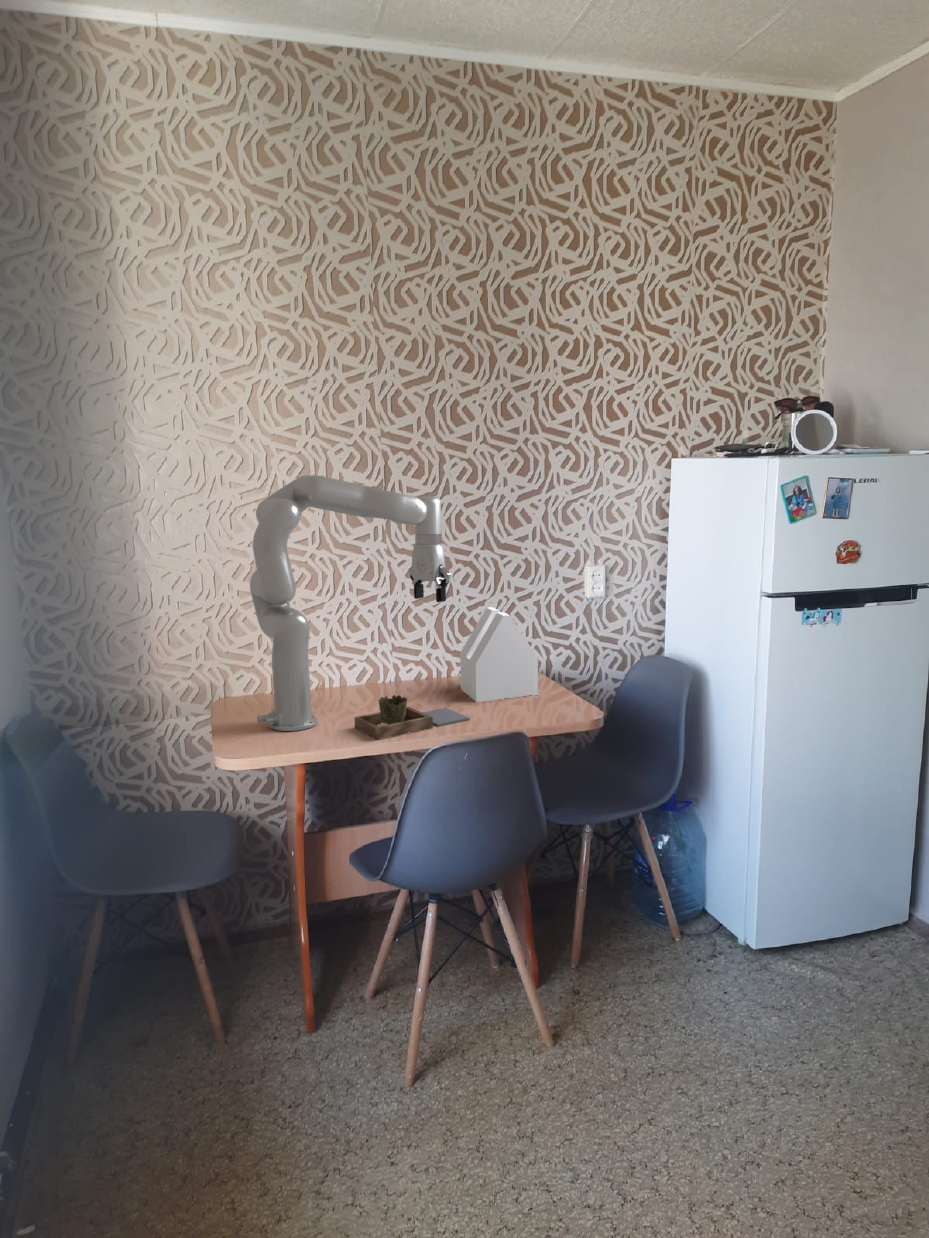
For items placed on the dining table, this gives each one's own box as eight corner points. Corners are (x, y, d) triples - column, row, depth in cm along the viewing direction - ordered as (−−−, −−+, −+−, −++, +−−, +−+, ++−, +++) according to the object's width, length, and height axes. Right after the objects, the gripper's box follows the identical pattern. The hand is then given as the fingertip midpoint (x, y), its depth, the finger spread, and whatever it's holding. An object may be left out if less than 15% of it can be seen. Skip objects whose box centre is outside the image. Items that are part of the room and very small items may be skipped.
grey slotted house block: (476, 702, 245) (475, 617, 241) (460, 689, 259) (459, 609, 255) (537, 696, 251) (537, 613, 246) (519, 683, 265) (518, 605, 261)
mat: (438, 726, 222) (438, 724, 222) (414, 716, 232) (414, 714, 232) (469, 719, 228) (469, 717, 228) (445, 709, 237) (445, 707, 237)
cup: (382, 733, 217) (381, 703, 216) (377, 725, 224) (376, 696, 223) (410, 730, 219) (409, 700, 218) (404, 722, 226) (403, 693, 225)
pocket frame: (377, 740, 212) (376, 728, 211) (355, 728, 222) (354, 717, 222) (432, 728, 221) (432, 717, 220) (408, 717, 231) (408, 706, 231)
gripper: (399, 539, 243) (400, 598, 246) (438, 542, 231) (440, 604, 234) (418, 538, 248) (420, 595, 251) (458, 541, 236) (459, 601, 239)
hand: (429, 599), depth 243 cm, fingers open, 9 cm apart
